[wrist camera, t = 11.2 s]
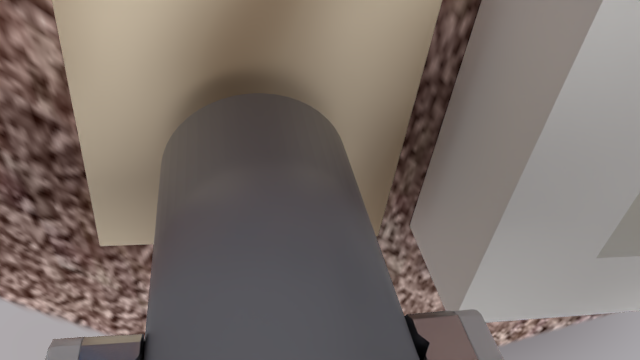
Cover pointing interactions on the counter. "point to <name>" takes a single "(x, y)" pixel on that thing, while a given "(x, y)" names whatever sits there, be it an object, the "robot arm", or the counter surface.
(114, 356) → the robot arm
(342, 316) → the grey cylinder
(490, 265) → the block
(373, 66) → the pad
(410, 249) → the counter surface
